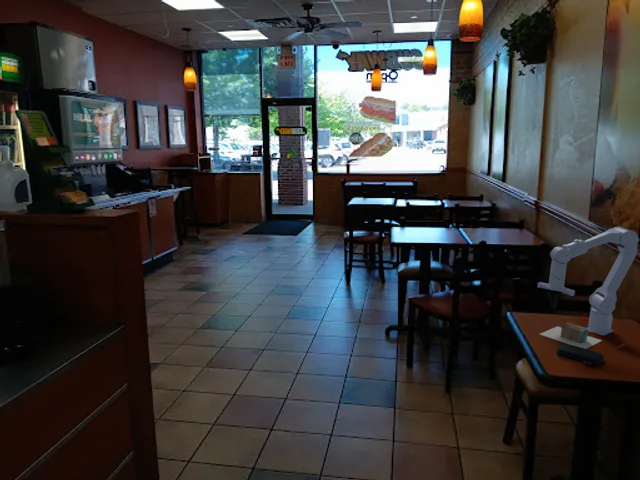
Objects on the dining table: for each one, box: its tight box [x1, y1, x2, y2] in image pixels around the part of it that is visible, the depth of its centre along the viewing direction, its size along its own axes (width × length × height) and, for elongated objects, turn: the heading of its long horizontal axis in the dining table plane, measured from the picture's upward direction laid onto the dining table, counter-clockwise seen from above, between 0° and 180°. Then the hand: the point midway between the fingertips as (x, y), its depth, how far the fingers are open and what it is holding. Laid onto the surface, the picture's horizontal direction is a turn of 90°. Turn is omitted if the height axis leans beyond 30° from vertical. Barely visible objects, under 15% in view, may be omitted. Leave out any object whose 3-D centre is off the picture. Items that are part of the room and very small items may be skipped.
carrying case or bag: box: [555, 343, 605, 367], centre depth 185 cm, size 11×3×15 cm
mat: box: [539, 326, 602, 349], centre depth 203 cm, size 15×18×1 cm
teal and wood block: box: [560, 322, 589, 344], centre depth 201 cm, size 5×5×8 cm
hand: (553, 308), depth 210 cm, fingers closed
